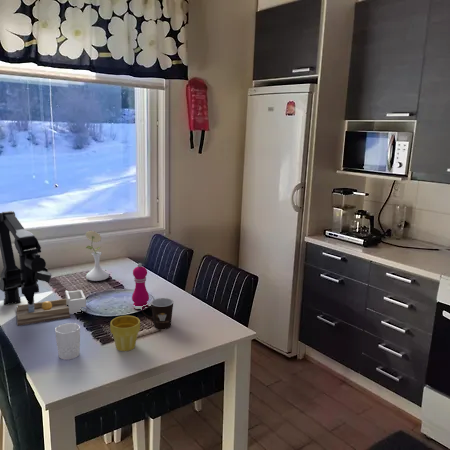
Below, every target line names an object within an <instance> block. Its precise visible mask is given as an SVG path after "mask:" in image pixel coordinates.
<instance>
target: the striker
mask: <svg viewBox="0 0 450 450" xmlns="http://www.w3.org/2000/svg"><path fill="white" fill-rule="evenodd" d="M26 301H27V300H26ZM34 303H35V297H34V298H33V304H32V305H30V304H29V303H28V301H27V304H28V308H29V313H31V312H34Z"/></svg>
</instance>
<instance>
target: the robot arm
mask: <svg viewBox="0 0 450 450" xmlns="http://www.w3.org/2000/svg"><path fill="white" fill-rule="evenodd" d="M11 235H12V236H13V237H14V242H13V243H14V247H15V249H16V251H17V254H19V255H18V256H19V257H18V258H19V266H17V265H16V261H15V259H16V258H15V255H14V250H13V244H12V239H11ZM38 240H39V239H37V237H36V236H35V234H33V233H32V232H31V231H28V230H26V229H25V227H24V226H23V225H22V223H21V221H19V219H18V218H17V216H16V213H15V212H14V211H13V210H7V211H2V212H0V255H1V259H2V266H3V268H2V271H1V273H0V277H1V278H0V291H1V292H3V293H4V294H3V295H4V298H3V299H4V300H3V301H4V302H3V305H5V306H6V305H11V304H20V303H22V301H21V296H20V292H21V295H23V296H24V298H25V299H26V301H28V302H27V304H28V303H29V304H30V305H32V304H33V298H34V299H35V294H37V293H39V292H40V288H39V284H38V282H39V281H42V282H45V283H50V281H51V278H52V276H53V275H52V272H51V271H48V267H46V265H47V262H46V260H45V259H44V258H43V257H41V254H40V253H42V247H41V244H40V242H39V241H38ZM19 288H21V291H20V289H19Z"/></svg>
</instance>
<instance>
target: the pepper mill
mask: <svg viewBox="0 0 450 450" xmlns="http://www.w3.org/2000/svg"><path fill="white" fill-rule="evenodd" d="M132 276H133V277H134V278H133V282H135V283H134V284H135V285H134V286H135V287H134V291H133V293H132V296H131V300H132V302H133V305H135V306H143V305H146V304H147V303H148V302H149V300H150V295H149V292H148V290H147V287H146V282H147V276H148V270H147V268H146V267H144V266H143V263H141V262H139V263H138V264H137V266H136V267H135V268H133V270H132Z"/></svg>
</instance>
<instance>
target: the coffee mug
mask: <svg viewBox="0 0 450 450" xmlns="http://www.w3.org/2000/svg"><path fill="white" fill-rule="evenodd" d="M150 303H151V304H150V305H149V304H148V305H146V306H143V307H142V310H141V313H142V314H143V316H145V317H147V318H148V319H150V320H152V322H153V327H154V328H155V329H156V330H160V331H161V330H167V329H170V328H171V326H172V325H171V324H172V320H173V319H172V316H173V310H174V300H173V299H171V298H168V297H159V298H155V299H152V300H151V302H150ZM145 307H148V308H149V309H150V311H151V312H152V317H151V316H150V315H148V314H146V313H145V312H144V310H143V309H144V308H145Z"/></svg>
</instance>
